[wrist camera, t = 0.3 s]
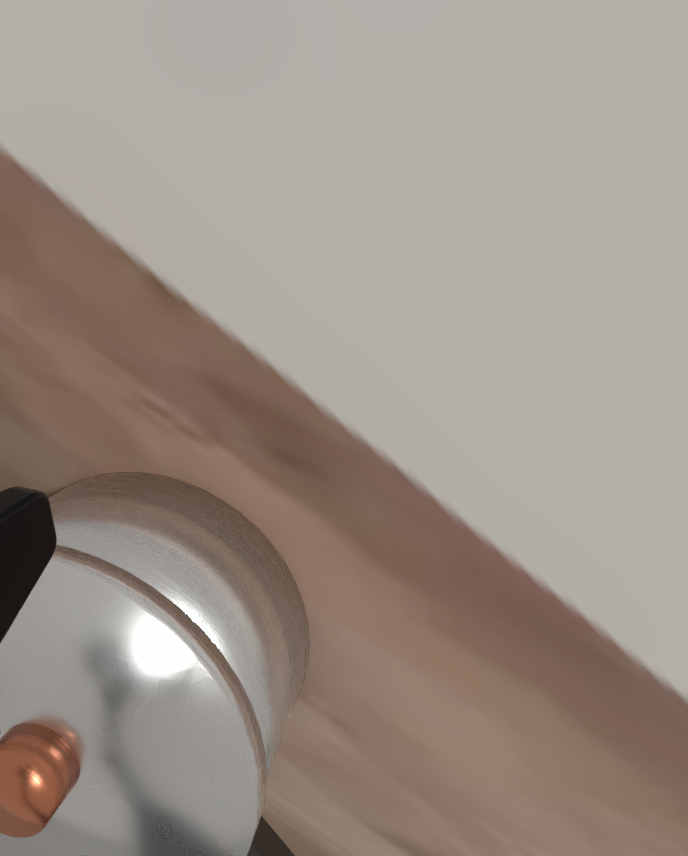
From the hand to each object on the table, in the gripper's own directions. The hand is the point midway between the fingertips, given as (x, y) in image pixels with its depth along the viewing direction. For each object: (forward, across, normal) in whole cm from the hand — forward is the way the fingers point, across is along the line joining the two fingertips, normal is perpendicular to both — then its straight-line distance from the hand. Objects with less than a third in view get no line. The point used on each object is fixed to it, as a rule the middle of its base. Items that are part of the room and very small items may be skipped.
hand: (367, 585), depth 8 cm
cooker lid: (+5, +13, +14) cm, 20 cm away
